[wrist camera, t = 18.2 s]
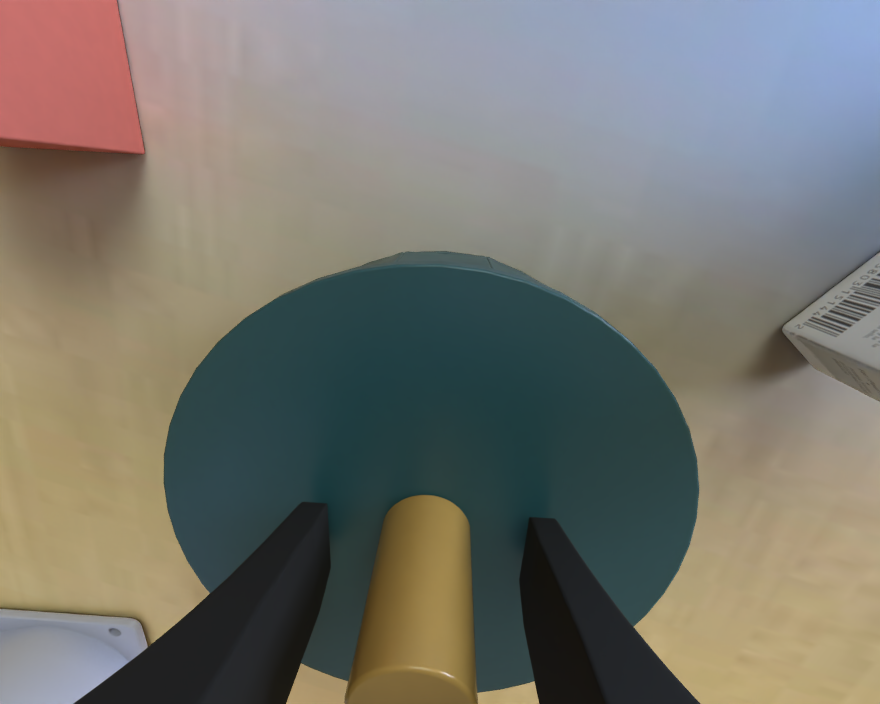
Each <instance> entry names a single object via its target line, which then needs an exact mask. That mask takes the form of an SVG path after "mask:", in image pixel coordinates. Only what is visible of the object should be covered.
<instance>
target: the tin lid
mask: <svg viewBox="0 0 880 704" xmlns="http://www.w3.org/2000/svg"><path fill="white" fill-rule="evenodd" d="M164 488H165V495H166V501H167V508H168V513H169V516H170V519H171V522H172V525H173V529H174V532H175V535H176V538H177V540H178V542H179V544H180V546H181V548H182V550H183V553H184V555H185V557H186V559H187V561H188V563H189V564H190V566H191V567H192V569H193V570H194V572H195V573H196V575H197V576H198V578H199V580H200V581H201V583H202V584H203V585H204V587H205V588H206V589H207V590H208V591H209V593H211V592H212V591H214V590H215V589H216V588H217V587H218V586H219V585H220V584H221V583H222V582H223V581H224V580H226V579H227V578H228V577H229V576H230V575H231V574H232V573H233V572H234V571H235V570H236V569H237V568H238V567H239V566H240V565H241V564H242V563H243V562H244V561H245V560H246V559H247V558H248V557H249V556H250V555H251V554H252V553H253V552H254V551H255V550H256V549H257V548H258V547H259V546H260V545H261V544H262V543H263V542H264V541H265V540H266V539H267V538H268V537H269V536H270V535H271V534H272V532H273V531H274V530H275V529H276V528H277V527H278V526H279V525H280V524H281V523H282V522H283V521H284V520H285V519H286V518H287V516H288V515H289V514H290V513H291V512H292V511H293V510H294V509H295V508H296V507H297V506H298V505H299V504H300V503H301V502H314V503H327V506H328V524H329V542H330V559H331V569H330V573H329V577H328V581H327V585H326V589H325V593H324V597H323V601H322V604H321V608H320V612H319V615H318V618H317V620H316V623H315V626H314V629H313V631H312V634H311V637H310V640H309V642H308V645H307V648H306V651H305V653H304V656H303V659H302V661H301V663H302V664H304V665H306V666H308V667H310V668H313V669H315V670H318V671H321V672H323V673H326V674H328V675H331V676H333V677H336V678H340V679H343V680H346V681H348V685H347V690H346V694H345V704H478V695H477V693H479V692H486V691H493V690H500V689H505V688H509V687H513V686H518V685H522V684H526V683H530V682H533V681H535V680H534V675H533V670H532V665H531V660H530V655H529V650H528V645H527V641H526V635H525V630H524V624H523V615H522V606H521V596H520V585H519V577H520V571H521V565H522V559H523V553H524V547H525V541H526V535H527V528H528V522H529V517H539V518H554V519H556V520H557V521H558V523H559V524H560V525H561V527H562V529H563V530H564V532H565V533H566V535H567V536H568V538H569V539H570V541H571V542H572V544H573V545H574V547H575V548H576V550H577V551H578V553H579V554H580V556H581V557H582V559H583V560H584V561H585V563H586V564H587V566H588V567H589V569H590V570H591V572H592V573H593V574H594V576H595V577H596V579H597V580H598V581H599V583H600V584H601V585H602V587H603V588H604V589H605V591H606V592H607V593H608V595H609V596H610V597H611V599H612V600H613V601H614V603H615V604H616V605H617V607H618V608H619V609H620V611H621V612H622V613H623V615H624V616H625V617H626V618H627V620H628V621H629V622H630V623H631V625H632V626H633V627H634V626H635V625H636V624H637V623H638V622H639V621H640V620H641V619H642V618H643V617H644V616H645V615H646V614H647V613H648V612H649V611H650V610H651V608H652V607H653V606H654V605H655V604H656V603H657V601H658V600H659V599H660V598H661V597H662V595H663V594H664V593H665V591H666V589H667V588H668V586H669V585H670V583H671V582H672V580H673V578H674V577H675V575H676V574H677V572H678V570H679V568H680V566H681V563H682V561H683V559H684V557H685V554H686V552H687V550H688V547H689V545H690V541H691V537H692V534H693V530H694V526H695V522H696V518H697V508H698V497H699V481H698V468H697V458H696V454H695V450H694V446H693V442H692V438H691V434H690V430H689V427H688V425H687V423H686V421H685V418H684V416H683V414H682V412H681V409H680V407H679V405H678V403H677V400H676V398H675V397H674V395H673V394H672V392H671V391H670V389H669V388H668V386H667V385H666V383H665V381H664V380H663V378H662V377H661V375H660V374H659V372H658V371H657V369H656V368H655V367H654V366H653V365H652V364H651V363H650V362H649V361H648V359H647V358H646V357H645V356H644V355H643V354H642V353H641V352H640V351H639V350H638V349H637V348H636V346H635V345H634V344H633V343H632V342H631V341H630V340H629V339H627V338H626V337H625V336H624V335H623V334H621V333H620V332H619V331H618V330H616V329H615V328H614V327H613V326H611V325H610V324H609V323H608V322H607V321H605V320H604V319H603V318H602V317H600V316H599V315H598V314H597V313H595V312H594V311H592V310H590V309H589V308H587V307H585V306H583V305H582V304H580V303H578V302H577V301H575V300H573V299H572V298H570V297H568V296H566V295H565V294H563V293H561V292H559V291H557V290H554V289H552V288H549V287H547V286H545V285H542V284H540V283H537V282H535V281H533V280H530V279H528V278H525V277H523V276H519V275H515V274H511V273H507V272H504V271H500V270H496V269H492V268H488V267H485V266H479V265H471V264H463V263H455V262H447V261H396V262H389V263H382V264H375V265H368V266H361V267H356V268H352V269H349V270H345V271H342V272H338V273H335V274H331V275H328V276H324V277H321V278H318V279H316V280H314V281H311V282H309V283H307V284H305V285H302V286H300V287H298V288H296V289H293V290H291V291H289V292H287V293H284V294H283V295H281V296H279V297H278V298H276V299H274V300H273V301H271V302H270V303H268V304H267V305H265V306H263V307H262V308H260V309H259V310H257V311H256V312H254V313H252V314H251V315H249V316H248V317H246V318H245V319H243V320H242V321H241V322H240V323H239V324H238V325H237V326H236V327H234V328H233V329H232V330H231V331H230V332H229V333H228V334H226V335H225V336H224V337H223V338H222V339H221V340H220V341H218V342H217V344H216V345H215V346H214V347H213V349H212V350H211V351H210V352H209V353H208V355H207V356H206V357H205V358H204V359H203V361H202V362H201V363H200V364H199V365H198V367H197V368H196V370H195V371H194V373H193V375H192V377H191V378H190V380H189V382H188V383H187V385H186V387H185V389H184V390H183V392H182V394H181V396H180V398H179V401H178V404H177V406H176V409H175V412H174V415H173V417H172V420H171V423H170V426H169V431H168V436H167V442H166V447H165V453H164Z"/></svg>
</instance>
